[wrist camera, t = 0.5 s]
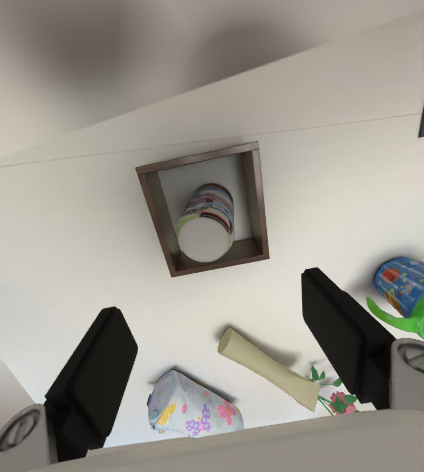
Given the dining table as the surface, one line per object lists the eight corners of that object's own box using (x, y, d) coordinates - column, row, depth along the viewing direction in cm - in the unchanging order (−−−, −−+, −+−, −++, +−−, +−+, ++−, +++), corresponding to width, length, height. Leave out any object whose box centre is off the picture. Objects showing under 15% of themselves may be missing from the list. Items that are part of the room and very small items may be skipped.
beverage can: (240, 199, 30) (261, 227, 18) (209, 235, 32) (212, 280, 20) (206, 172, 28) (208, 184, 17) (176, 212, 30) (160, 246, 19)
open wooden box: (149, 164, 27) (134, 167, 22) (247, 143, 27) (258, 141, 21) (176, 256, 33) (171, 277, 27) (258, 240, 32) (269, 259, 27)
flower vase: (236, 297, 46) (361, 378, 46) (207, 342, 46) (332, 422, 46) (245, 320, 34) (413, 428, 35) (206, 380, 34) (375, 487, 35)
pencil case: (150, 380, 44) (136, 435, 36) (174, 359, 42) (167, 413, 33) (218, 414, 50) (221, 469, 42) (242, 397, 48) (251, 452, 39)
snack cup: (443, 237, 33) (538, 270, 24) (433, 287, 37) (511, 332, 28) (349, 260, 34) (404, 300, 25) (349, 306, 38) (396, 356, 29)
